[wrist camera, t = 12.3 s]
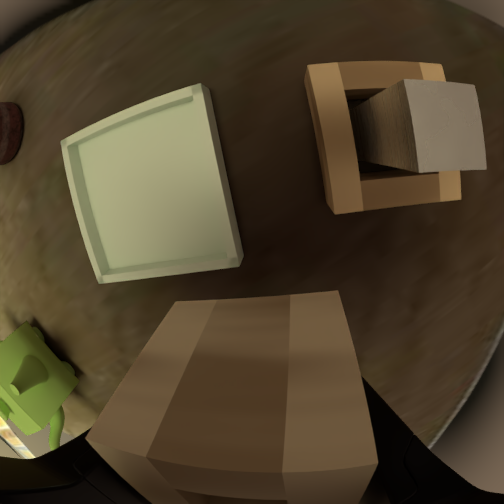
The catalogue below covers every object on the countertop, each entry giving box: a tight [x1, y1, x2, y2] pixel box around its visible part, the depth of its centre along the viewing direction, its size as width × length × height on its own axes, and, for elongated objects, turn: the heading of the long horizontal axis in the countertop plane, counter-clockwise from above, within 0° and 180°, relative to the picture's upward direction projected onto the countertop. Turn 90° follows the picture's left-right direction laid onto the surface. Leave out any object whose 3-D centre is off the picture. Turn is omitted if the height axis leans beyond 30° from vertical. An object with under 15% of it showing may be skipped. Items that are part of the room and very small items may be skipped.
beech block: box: [85, 290, 378, 504], centre depth 7 cm, size 5×5×6 cm
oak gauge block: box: [304, 61, 461, 215], centre depth 13 cm, size 8×8×4 cm
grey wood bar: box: [349, 79, 486, 173], centre depth 11 cm, size 3×3×9 cm
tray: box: [61, 83, 244, 284], centre depth 17 cm, size 11×11×2 cm
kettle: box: [0, 321, 79, 450], centre depth 22 cm, size 15×14×11 cm
